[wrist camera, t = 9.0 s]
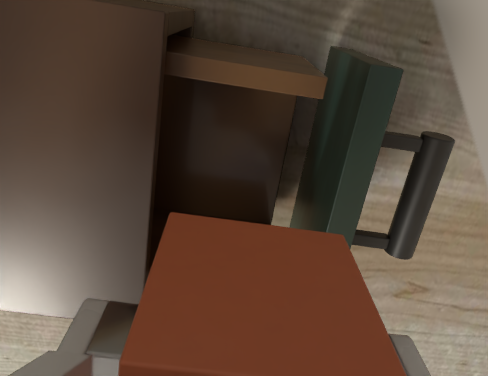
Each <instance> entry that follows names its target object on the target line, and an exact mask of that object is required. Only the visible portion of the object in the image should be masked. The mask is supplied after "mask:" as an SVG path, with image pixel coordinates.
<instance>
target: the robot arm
mask: <svg viewBox="0 0 488 376" xmlns="http://www.w3.org/2000/svg"><path fill="white" fill-rule="evenodd" d="M137 308H138V304H131V303H124V302H117V301H107V300H100V299H93V298H87V299H86V300H85V301H83V303H82V305H81V306H80V308H79V310H78V312H77V314H76V316H75V318H74V319H73V321H72V323H71V325H70V327H69V329H68V331H67V332H66V334H65V336H64V338H63V340H62V342H61V344H60V345H59V347H58V349H57V351H48V352H46V353H44V354H43V355H41V356H40V357H38V358H36V359H35V360H33V361H31V362H30V363H28V364H26V365H25V366H23V367H22V368H20V369H18V370H17V371H15V372H13V373H12V374H10V375H9V376H118V369H119V361H120V358H121V355H122V352H123V349H124V346H125V343H126V340H127V337H128V334H129V331H130V328H131V325H132V322H133V319H134V316H135V314H136V311H137ZM388 335H389V337H390V340H391V342H392V344H393V346H394V348H395V351H396V353H397V355H398V357H399V360H400V362H401V364H402V366H403V368H404V371H405V373H406V375H407V376H431V375H430V373H429V371H428V369H427V367H426V365H425V363H424V362H423V360H422V358H421V356H420V354H419V352H418V350H417V348H416V346H415V344H414V342H413V341H412V339H411V338H410V337H409V336H408V335H398V334H388Z"/></svg>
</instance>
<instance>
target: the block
mask: <svg viewBox="0 0 488 376" xmlns="http://www.w3.org/2000/svg"><path fill="white" fill-rule="evenodd" d="M118 376H407V375H406V373H405V371H404V368H403V366H402V364H401V362H400V360H399V357H398V355H397V353H396V351H395V348H394V346H393V344H392V342H391V340H390V337H389V335H388V333H387V331H386V328H385V326H384V324H383V322H382V320H381V317H380V315H379V313H378V311H377V308H376V306H375V304H374V302H373V300H372V297H371V295H370V293H369V291H368V289H367V286H366V284H365V282H364V280H363V277H362V275H361V273H360V271H359V269H358V266H357V264H356V262H355V260H354V257H353V255H352V253H351V251H350V249H349V246H348V244H347V242H346V240H345V237H344V236H343V235H341V234H333V233H326V232H318V231H311V230H303V229H296V228H288V227H280V226H273V225H265V224H258V223H250V222H243V221H235V220H227V219H220V218H212V217H205V216H197V215H190V214H182V213H175V212H171V213H170V214H169V217H168V220H167V222H166V225H165V228H164V231H163V234H162V237H161V240H160V243H159V246H158V249H157V252H156V255H155V258H154V261H153V264H152V267H151V269H150V272H149V275H148V278H147V281H146V284H145V287H144V290H143V293H142V296H141V299H140V302H139V305H138V308H137V311H136V314H135V316H134V319H133V322H132V325H131V328H130V331H129V334H128V337H127V340H126V343H125V346H124V349H123V352H122V355H121V358H120V361H119V369H118Z"/></svg>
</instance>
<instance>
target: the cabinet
mask: <svg viewBox="0 0 488 376" xmlns="http://www.w3.org/2000/svg"><path fill="white" fill-rule="evenodd" d="M194 18H195V10H194V9H190V8H184V7H178V6H172V5H166V4H160V3H154V2H149V1H143V0H0V310H2V311H10V312H18V313H27V314H35V315H44V316H52V317H60V318H69V319H74V318H75V316H76V314H77V312H78V310H79V308H80V306H81V305H82V303H83V301H85V300H86V299H87V298H93V299H100V300H107V301H117V302H124V303H131V304H138V305H139V302H140V299H141V296H142V293H143V290H144V287H145V284H146V281H147V278H148V272H149V260H150V247H151V234H152V222H153V209H154V197H155V184H156V171H157V159H158V146H159V134H160V121H161V108H162V96H163V83H164V71H165V58H166V46H167V36H169V35H175V36H181V37H188V38H192V37H193V28H194Z"/></svg>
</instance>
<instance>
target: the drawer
mask: <svg viewBox="0 0 488 376" xmlns="http://www.w3.org/2000/svg"><path fill="white" fill-rule="evenodd" d="M402 73H403V69H401V68H399V67H396V66H394V65H391V64H388V63H386V62H383V61H381V60H378V59H376V58H373V57H371V56H368V55H366V54H363V53H361V52H358V51H356V50H353V49H348V48H342V47H336V46H331V47H330V51H329V55H328V60H327V64H326V69H325V73H324V74H323V73H322V72H320V71H319V70H318V69H317V68H316V67H314V66H313V65H312V64H311V63H310V62H309V61H307V60H306V59H305V58H304V57H302V56H297V55H291V54H285V53H279V52H273V51H267V50H261V49H255V48H248V47H242V46H236V45H230V44H224V43H218V42H212V41H206V40H200V39H194V38H188V37H181V36H175V35H169V36H167V46H166V58H165V71H164V83H163V96H162V108H161V121H160V134H159V146H158V159H157V171H156V184H155V197H154V209H153V222H152V234H151V247H150V260H149V272H150V269H151V267H152V264H153V261H154V258H155V255H156V252H157V249H158V246H159V243H160V240H161V237H162V234H163V231H164V228H165V225H166V222H167V220H168V217H169V214H170V213H171V212H175V213H182V214H190V215H197V216H205V217H212V218H220V219H227V220H235V221H243V222H250V223H258V224H265V225H271V222H272V217H273V212H274V207H275V202H276V197H277V192H278V187H279V183H280V178H281V173H282V168H283V163H284V158H285V153H286V149H287V144H288V139H289V134H290V129H291V124H292V119H293V115H294V110H295V105H296V100H297V96H304V97H310V98H316V99H318V104H317V108H316V113H315V117H314V122H313V126H312V130H311V135H310V139H309V144H308V148H307V153H306V157H305V161H304V166H303V170H302V175H301V179H300V183H299V188H298V192H297V197H296V201H295V206H294V210H293V214H292V219H291V223H290V228H296V229H303V230H311V231H318V232H326V233H333V234H341V235H343V236H344V237H345V240H346V242H347V244H348V246H349V249H350V248H351V245H358V246H366V247H373V248H380V249H384V250H385V251H386V252H387V253H388V254H389V255H391V256H393V257H395V258H399V259H404V260H407V259H410V258H412V256H413V254H414V251H415V248H416V246H417V243H418V240H419V237H420V235H421V232H422V229H423V227H424V224H425V221H426V219H427V216H428V213H429V210H430V208H431V205H432V202H433V200H434V197H435V194H436V191H437V189H438V186H439V183H440V181H441V178H442V175H443V172H444V170H445V167H446V164H447V162H448V159H449V156H450V153H451V151H452V148H453V145H454V143H455V140H454V139H453V138H451V137H449V136H447V135H444V134H440V133H436V132H429V131H425V132H422V133H421V136H420V137H419V136H414V135H407V134H401V133H394V132H388V131H386V127H387V124H388V120H389V117H390V114H391V110H392V107H393V104H394V100H395V97H396V94H397V90H398V87H399V84H400V80H401V77H402ZM380 147H387V148H394V149H400V150H407V151H414V152H415V154H414V157H413V160H412V163H411V166H410V169H409V172H408V175H407V178H406V181H405V184H404V187H403V190H402V193H401V196H400V199H399V202H398V205H397V208H396V211H395V214H394V217H393V220H392V223H391V226H390V229H389V232H388V235H387V234H385V233H378V232H370V231H363V230H356V228H357V224H358V221H359V218H360V214H361V211H362V208H363V204H364V201H365V198H366V194H367V191H368V188H369V184H370V181H371V178H372V174H373V171H374V167H375V164H376V161H377V157H378V154H379V151H380ZM149 272H148V275H149Z"/></svg>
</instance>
